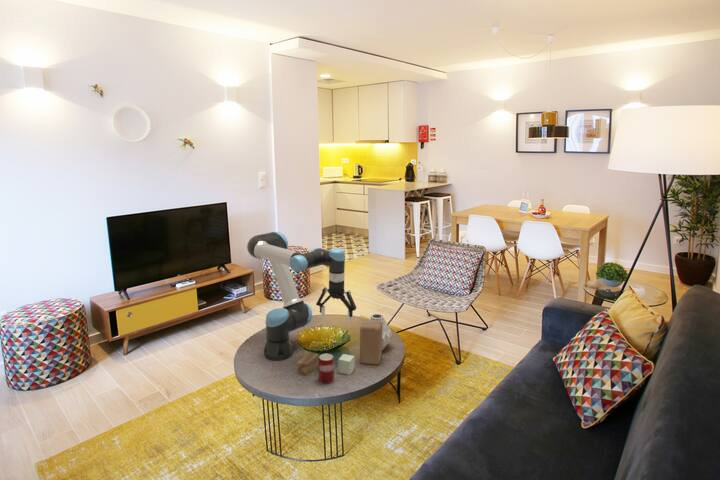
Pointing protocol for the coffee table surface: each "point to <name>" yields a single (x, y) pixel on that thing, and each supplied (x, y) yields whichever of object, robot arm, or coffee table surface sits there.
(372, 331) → the wooden block
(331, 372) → the soda can
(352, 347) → the coffee table surface
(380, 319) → the vase
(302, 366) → the walnut block
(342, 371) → the sage block
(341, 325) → the coffee table surface
